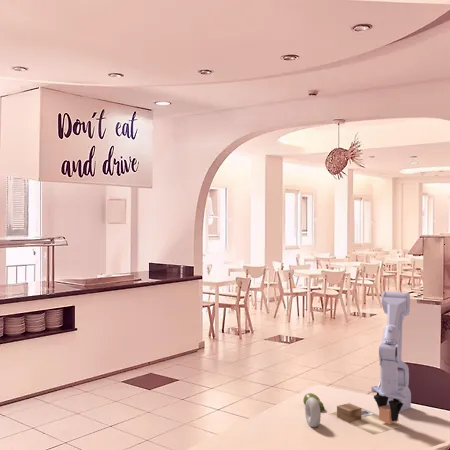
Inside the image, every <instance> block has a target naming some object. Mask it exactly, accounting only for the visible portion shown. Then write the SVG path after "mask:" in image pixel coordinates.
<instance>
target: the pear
mask: <svg viewBox="0 0 450 450" xmlns="http://www.w3.org/2000/svg"><path fill="white" fill-rule="evenodd" d="M311 397H313V398H315V399H316V400H317V401H318V403H319V406H320V412H322V411H325V406H324V403H323V402H322V401H321V399H320V397H319V396H318V395H316V394H315V393H312V392H310V393H306V394H305V395H304V397H303V401H302V402H303V405H304V406H305V405H306V401H307V400H308V399H309V398H311Z"/></svg>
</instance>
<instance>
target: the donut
mask: <svg viewBox="0 0 450 450" xmlns="http://www.w3.org/2000/svg"><path fill="white" fill-rule="evenodd" d="M304 411H305V413H304V414H305V419H306V423H307V425H308V427H311V428H318V426H319V425H320V424H321V411H320V406H319V403H318V401H317V400H316V399H315V398H313V397H311V398H309V399H308V400H307V401H306V405H305V404H304Z"/></svg>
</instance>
